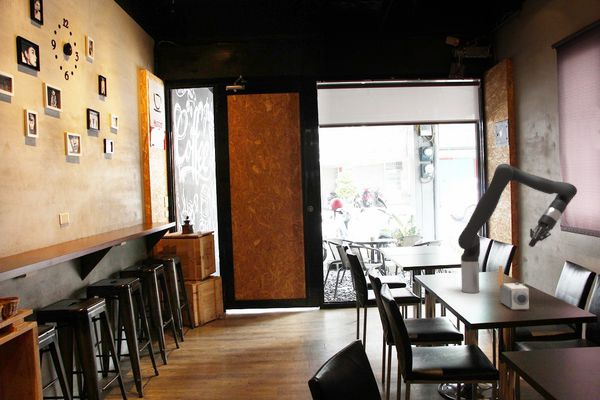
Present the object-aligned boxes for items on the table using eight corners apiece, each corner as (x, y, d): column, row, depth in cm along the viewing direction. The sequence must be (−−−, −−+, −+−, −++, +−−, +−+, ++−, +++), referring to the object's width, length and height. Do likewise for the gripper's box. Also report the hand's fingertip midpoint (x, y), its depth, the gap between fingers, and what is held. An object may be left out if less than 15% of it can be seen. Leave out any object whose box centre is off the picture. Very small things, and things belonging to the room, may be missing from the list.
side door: (499, 301, 252) (498, 265, 251) (501, 301, 252) (501, 265, 251) (509, 307, 239) (508, 270, 238) (511, 307, 239) (510, 270, 238)
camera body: (502, 303, 251) (502, 281, 251) (519, 302, 251) (518, 281, 251) (513, 310, 237) (513, 287, 237) (530, 310, 237) (530, 287, 237)
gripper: (535, 213, 256) (516, 240, 254) (554, 214, 243) (534, 243, 241) (545, 221, 257) (526, 248, 255) (564, 224, 244) (545, 252, 242)
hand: (530, 246), depth 248 cm, fingers closed
